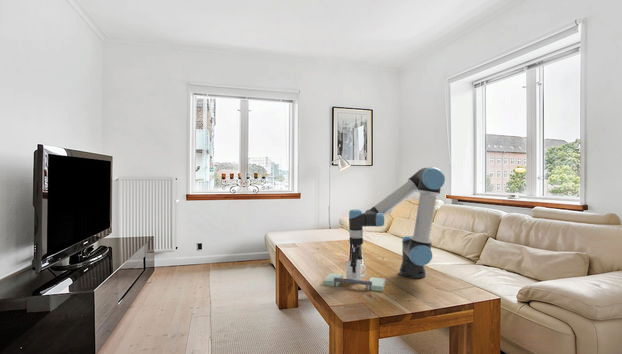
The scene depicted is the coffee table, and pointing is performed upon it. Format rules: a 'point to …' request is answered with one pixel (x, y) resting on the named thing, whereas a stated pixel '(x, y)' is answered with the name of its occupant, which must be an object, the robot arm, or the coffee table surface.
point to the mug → (359, 265)
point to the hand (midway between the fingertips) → (356, 274)
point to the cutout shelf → (375, 281)
